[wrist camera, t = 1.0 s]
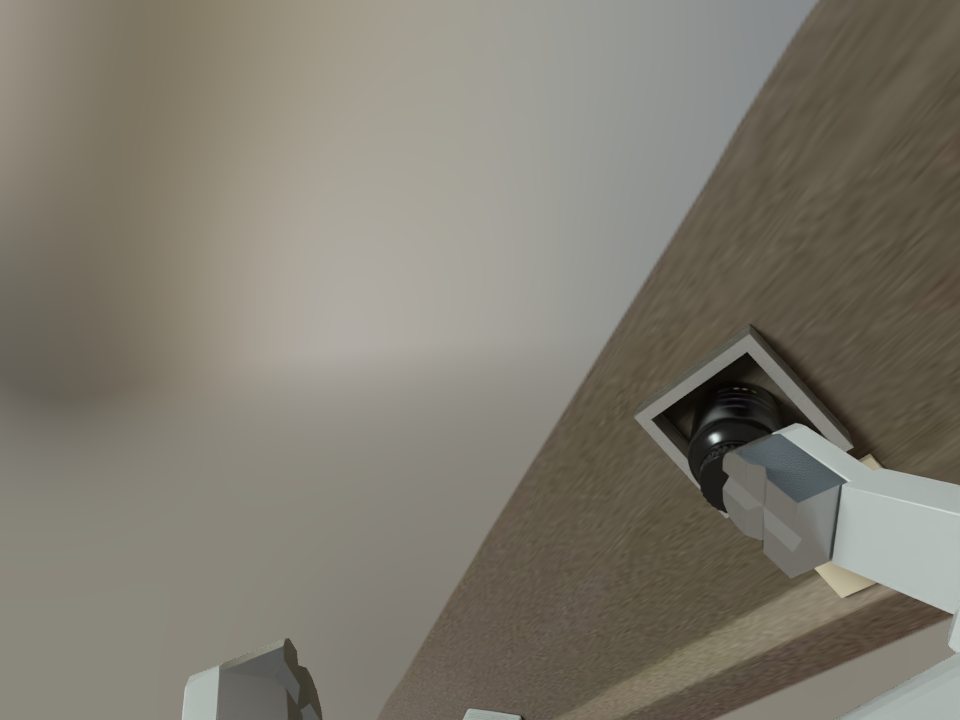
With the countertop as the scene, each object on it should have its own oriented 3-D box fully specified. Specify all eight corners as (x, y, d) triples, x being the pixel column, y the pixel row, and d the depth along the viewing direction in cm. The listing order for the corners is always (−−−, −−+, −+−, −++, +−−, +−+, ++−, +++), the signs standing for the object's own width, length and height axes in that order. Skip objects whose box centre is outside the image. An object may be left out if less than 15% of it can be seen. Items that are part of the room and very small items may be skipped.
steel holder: (749, 323, 49) (749, 334, 46) (848, 430, 49) (853, 447, 46) (639, 403, 55) (633, 417, 52) (727, 500, 54) (726, 518, 52)
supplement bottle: (774, 460, 52) (780, 542, 41) (689, 444, 54) (675, 517, 44) (790, 385, 49) (801, 451, 39) (701, 371, 52) (689, 430, 41)
